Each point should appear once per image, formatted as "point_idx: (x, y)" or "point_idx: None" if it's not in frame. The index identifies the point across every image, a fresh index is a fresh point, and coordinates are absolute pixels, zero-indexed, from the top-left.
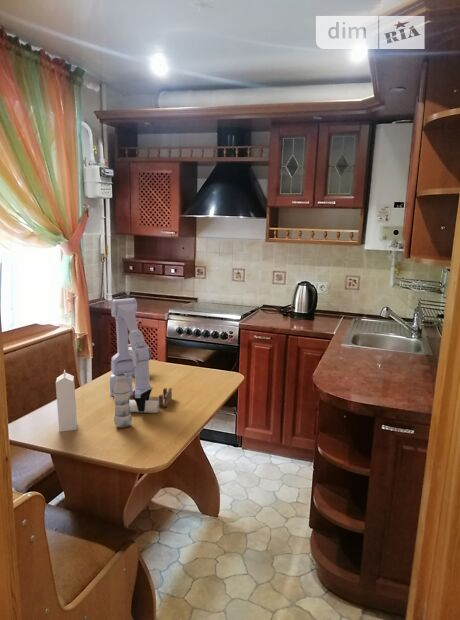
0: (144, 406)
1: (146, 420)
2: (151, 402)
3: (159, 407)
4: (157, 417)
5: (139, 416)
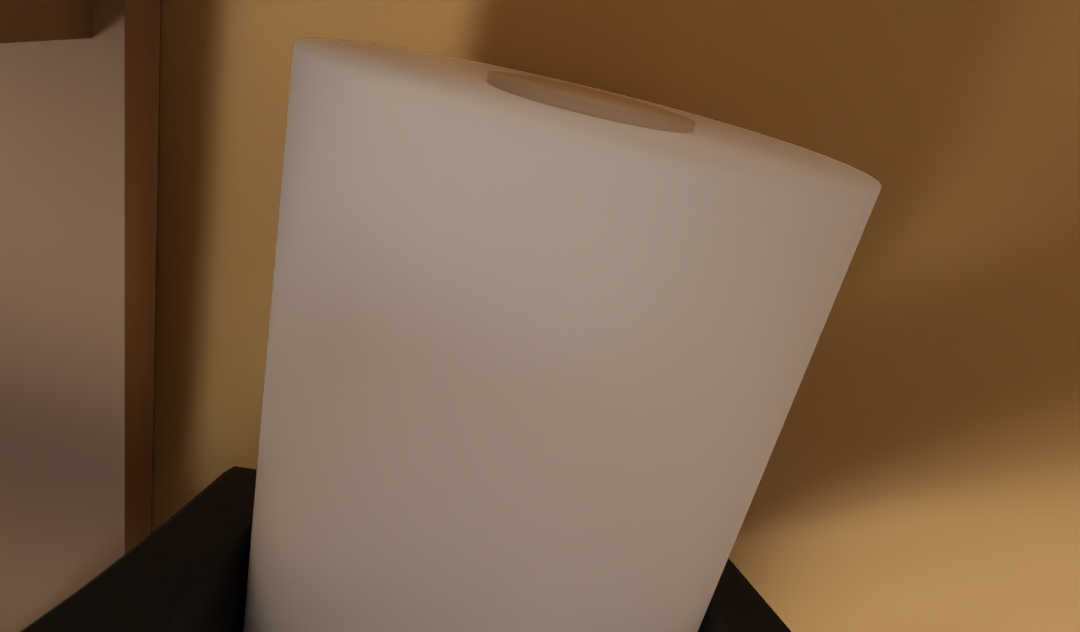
0: None
1: (1050, 386)
2: (684, 493)
3: (157, 26)
4: (972, 86)
5: (747, 553)
